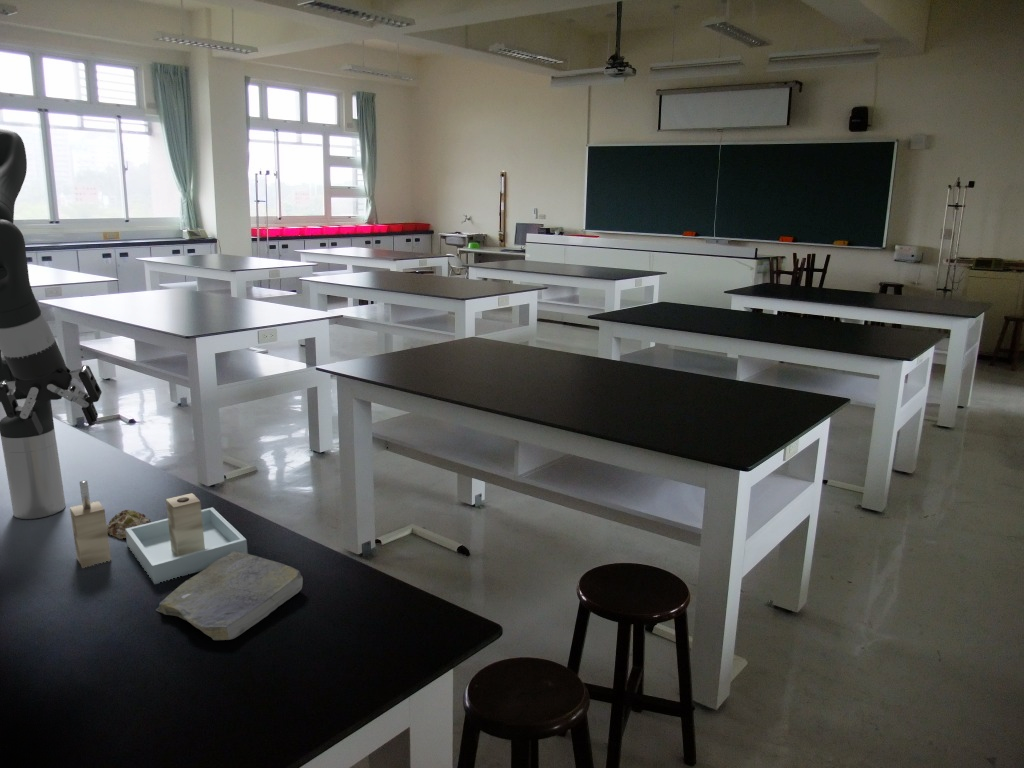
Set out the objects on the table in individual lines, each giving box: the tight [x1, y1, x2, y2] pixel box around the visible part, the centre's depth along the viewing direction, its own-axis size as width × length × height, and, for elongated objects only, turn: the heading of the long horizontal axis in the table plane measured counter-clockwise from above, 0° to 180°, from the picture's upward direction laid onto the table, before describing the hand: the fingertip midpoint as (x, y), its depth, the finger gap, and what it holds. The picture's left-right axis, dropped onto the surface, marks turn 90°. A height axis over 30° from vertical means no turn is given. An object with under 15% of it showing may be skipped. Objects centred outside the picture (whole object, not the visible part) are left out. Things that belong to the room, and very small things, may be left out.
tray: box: [125, 507, 249, 585], centre depth 139 cm, size 18×16×4 cm
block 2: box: [165, 492, 205, 557], centre depth 137 cm, size 5×5×10 cm
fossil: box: [155, 551, 304, 641], centre depth 123 cm, size 20×5×17 cm
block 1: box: [69, 480, 112, 569], centre depth 134 cm, size 5×5×15 cm
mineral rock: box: [106, 509, 152, 540], centre depth 148 cm, size 11×4×8 cm
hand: (66, 428), depth 129 cm, fingers open, 8 cm apart
